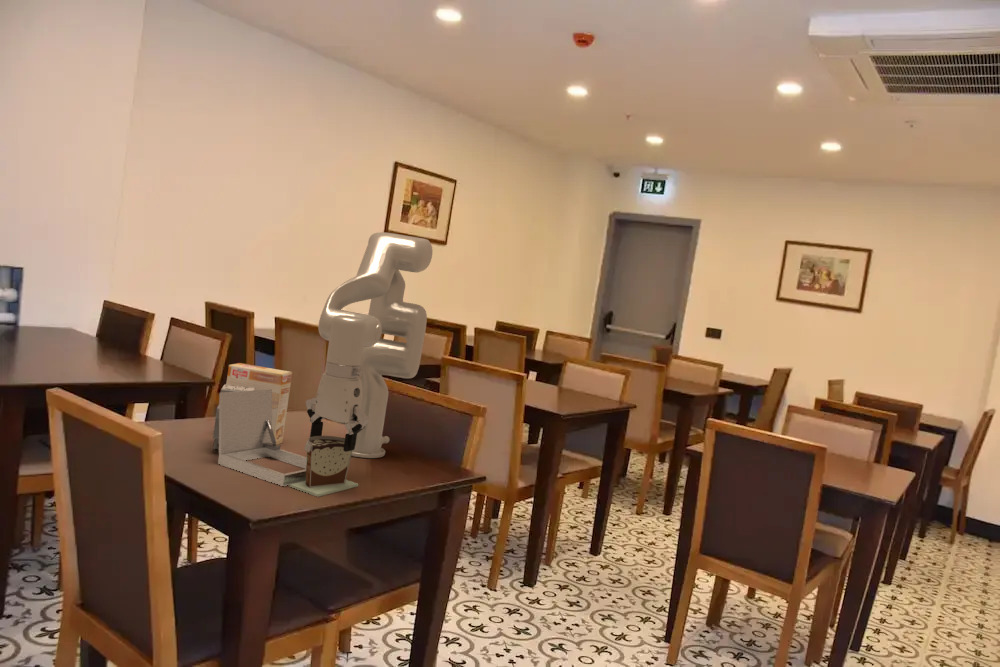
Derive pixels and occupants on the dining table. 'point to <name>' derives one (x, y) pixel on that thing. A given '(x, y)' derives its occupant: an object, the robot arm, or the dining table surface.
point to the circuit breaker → (216, 428)
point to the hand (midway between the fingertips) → (331, 445)
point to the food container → (326, 461)
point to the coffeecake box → (263, 381)
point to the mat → (323, 488)
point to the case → (253, 437)
